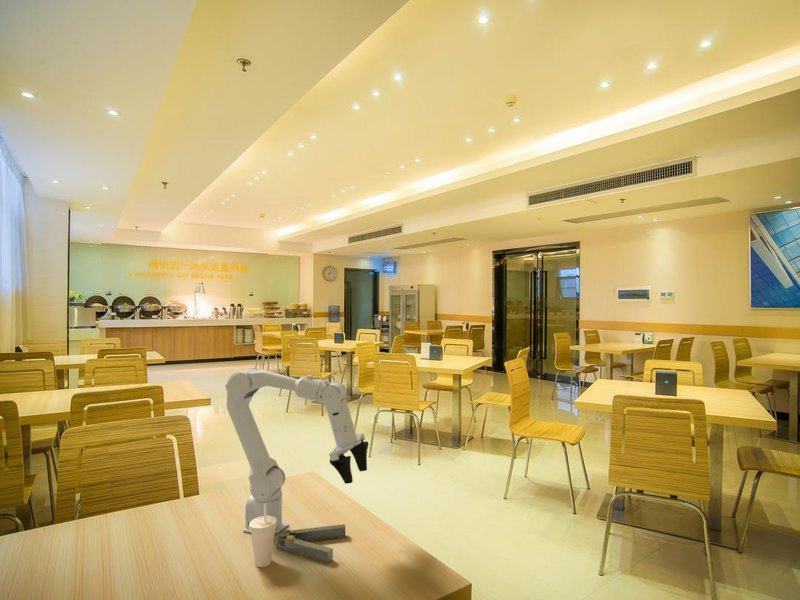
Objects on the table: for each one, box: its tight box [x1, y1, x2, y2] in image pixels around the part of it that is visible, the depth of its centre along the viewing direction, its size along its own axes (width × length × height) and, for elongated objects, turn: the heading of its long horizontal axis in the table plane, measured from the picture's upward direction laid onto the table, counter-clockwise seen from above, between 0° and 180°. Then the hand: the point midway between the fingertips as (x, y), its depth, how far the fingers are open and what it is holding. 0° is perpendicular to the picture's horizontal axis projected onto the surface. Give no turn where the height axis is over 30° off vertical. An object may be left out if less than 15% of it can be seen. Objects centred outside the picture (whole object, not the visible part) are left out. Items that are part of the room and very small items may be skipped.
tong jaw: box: [278, 523, 346, 542], centre depth 116 cm, size 17×3×3 cm, turn 103°
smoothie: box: [249, 503, 277, 568], centre depth 105 cm, size 6×6×14 cm
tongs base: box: [276, 535, 334, 565], centre depth 110 cm, size 17×5×4 cm, turn 65°
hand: (356, 476), depth 118 cm, fingers open, 7 cm apart
